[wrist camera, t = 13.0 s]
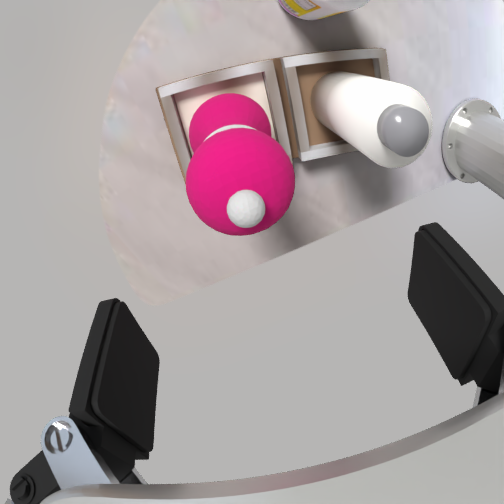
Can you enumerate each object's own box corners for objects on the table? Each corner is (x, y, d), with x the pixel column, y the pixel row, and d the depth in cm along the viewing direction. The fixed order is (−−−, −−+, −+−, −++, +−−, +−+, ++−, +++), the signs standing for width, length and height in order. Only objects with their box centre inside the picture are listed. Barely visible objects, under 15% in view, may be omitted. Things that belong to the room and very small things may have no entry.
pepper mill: (269, 147, 32) (332, 262, 16) (202, 164, 33) (194, 295, 16) (255, 81, 28) (317, 121, 12) (183, 99, 29) (141, 165, 12)
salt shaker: (363, 68, 28) (443, 85, 17) (370, 125, 32) (443, 169, 21) (305, 75, 28) (363, 90, 17) (315, 134, 32) (370, 183, 21)
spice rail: (376, 48, 28) (389, 48, 26) (385, 136, 35) (398, 144, 32) (157, 87, 29) (152, 90, 26) (186, 179, 35) (184, 190, 33)
